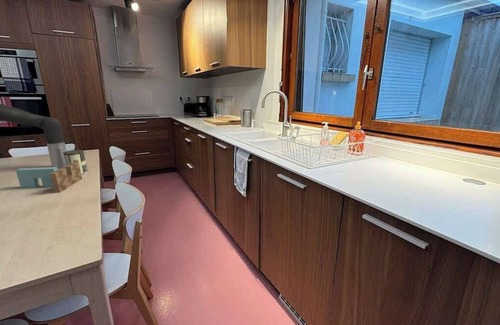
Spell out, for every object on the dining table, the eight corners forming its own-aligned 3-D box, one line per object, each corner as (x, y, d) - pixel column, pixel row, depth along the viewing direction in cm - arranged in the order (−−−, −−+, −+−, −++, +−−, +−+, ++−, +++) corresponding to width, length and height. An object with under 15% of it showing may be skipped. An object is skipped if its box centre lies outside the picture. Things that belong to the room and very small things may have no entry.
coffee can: (81, 170, 156) (77, 149, 152) (91, 172, 151) (87, 150, 147) (64, 174, 147) (58, 152, 143) (74, 177, 142) (69, 154, 139)
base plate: (77, 179, 139) (74, 162, 136) (82, 178, 139) (78, 162, 137) (54, 192, 120) (49, 173, 117) (59, 192, 120) (55, 173, 117)
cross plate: (25, 186, 129) (20, 168, 126) (61, 184, 131) (57, 167, 128) (20, 188, 126) (15, 170, 123) (57, 186, 128) (53, 168, 125)
